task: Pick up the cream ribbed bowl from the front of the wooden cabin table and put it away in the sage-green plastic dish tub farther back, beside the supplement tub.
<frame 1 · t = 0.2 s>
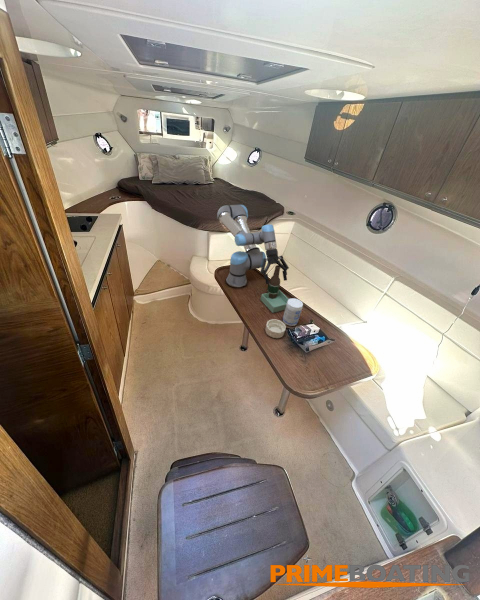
hand: (276, 282, 162), 16 cm above the table, tool tilted 35°, fingers open, 13 cm apart
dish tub: (275, 303, 170), on the table
cream ribbed bowl: (274, 331, 147), on the table
supplement tub: (289, 321, 157), on the table
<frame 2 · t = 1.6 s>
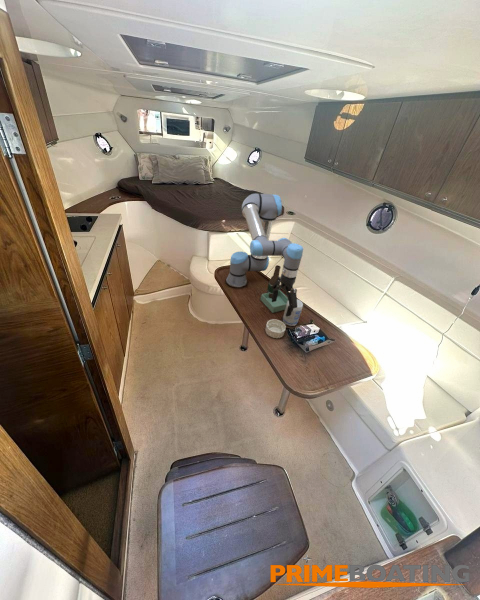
hand: (280, 308, 137), 18 cm above the table, tool pointing down, fingers open, 13 cm apart
nothing on the table moved.
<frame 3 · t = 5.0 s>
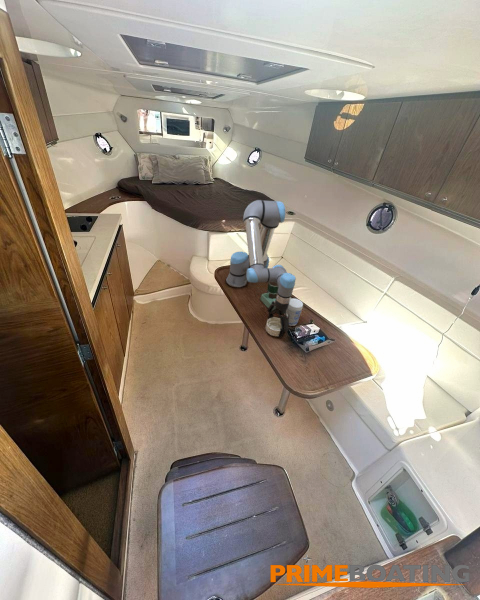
hand: (274, 329, 147), 1 cm above the table, tool pointing down, fingers closed on cream ribbed bowl, 11 cm apart
cream ribbed bowl: (274, 330, 147), point 1 cm above the table, touching gripper
everything else where it was.
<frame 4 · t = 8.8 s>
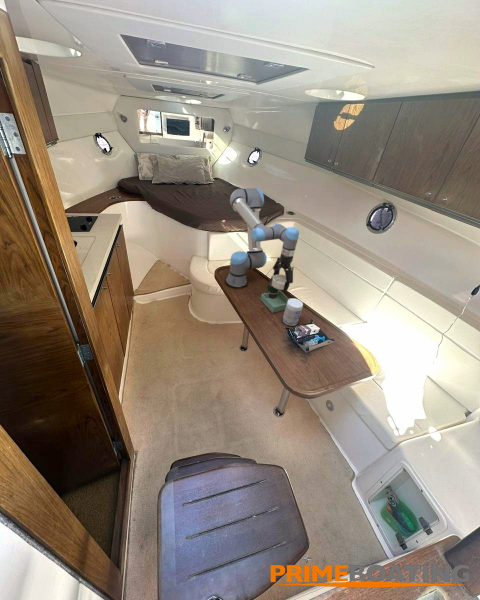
hand: (280, 285, 160), 15 cm above the table, tool pointing down, fingers closed on cream ribbed bowl, 11 cm apart
cream ribbed bowl: (280, 285, 160), point 15 cm above the table, touching gripper
everything else where it was.
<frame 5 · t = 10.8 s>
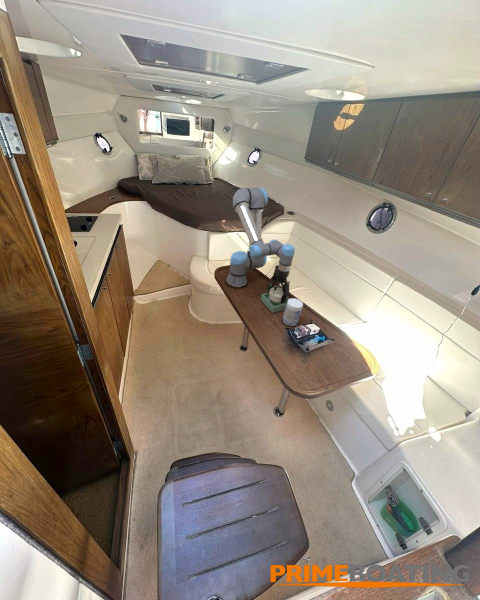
hand: (277, 297, 167), 5 cm above the table, tool pointing down, fingers closed on cream ribbed bowl, 11 cm apart
cream ribbed bowl: (277, 298, 167), point 5 cm above the table, touching gripper
everything else where it was.
when the fingers open (2 cm above the table, at t = 12.4 s): cream ribbed bowl stays where it is, resting on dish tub.
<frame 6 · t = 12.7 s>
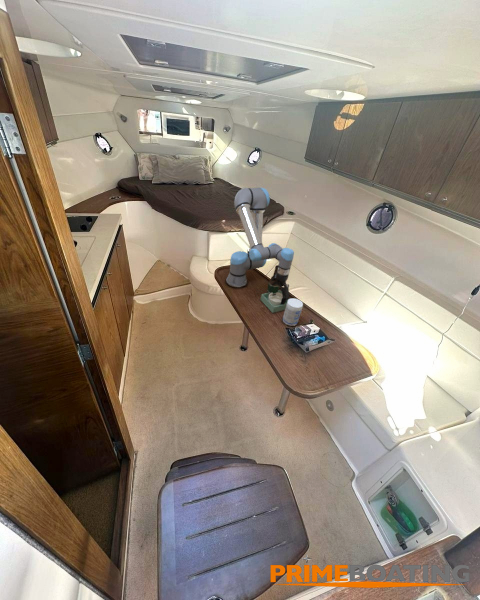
hand: (276, 300, 168), 3 cm above the table, tool pointing down, fingers open, 12 cm apart
cream ribbed bowl: (275, 302, 170), point 1 cm above the table, touching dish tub
everything else where it was.
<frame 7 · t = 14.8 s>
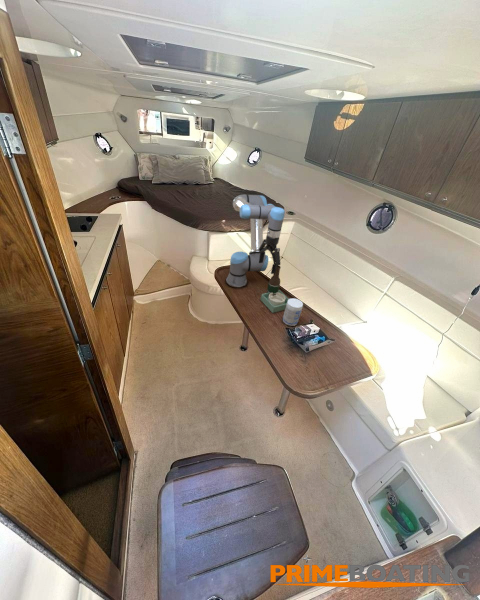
hand: (266, 267, 156), 25 cm above the table, tool pointing down, fingers open, 13 cm apart
nothing on the table moved.
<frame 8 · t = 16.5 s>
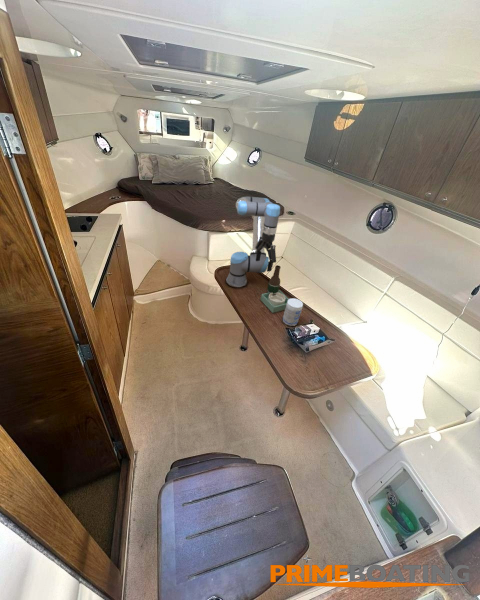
hand: (263, 265, 155), 27 cm above the table, tool pointing down, fingers open, 13 cm apart
nothing on the table moved.
at the end: cream ribbed bowl inside the target area in the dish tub (0.2 cm from its centre), point 0.6 cm above the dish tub's base; the gripper is holding nothing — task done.
